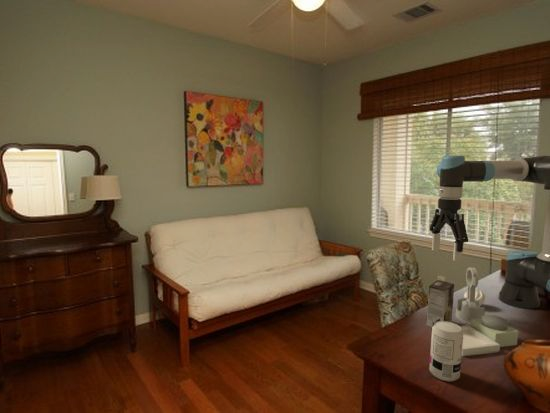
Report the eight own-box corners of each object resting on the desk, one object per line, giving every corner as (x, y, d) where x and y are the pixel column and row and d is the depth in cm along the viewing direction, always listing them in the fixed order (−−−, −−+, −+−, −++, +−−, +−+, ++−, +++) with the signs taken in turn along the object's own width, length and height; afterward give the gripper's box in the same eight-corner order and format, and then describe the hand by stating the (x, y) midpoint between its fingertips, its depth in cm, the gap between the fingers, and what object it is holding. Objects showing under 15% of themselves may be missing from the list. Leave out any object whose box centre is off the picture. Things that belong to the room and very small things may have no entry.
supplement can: (423, 366, 107) (426, 320, 105) (449, 365, 108) (453, 319, 106) (438, 383, 99) (442, 334, 97) (465, 382, 100) (470, 332, 98)
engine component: (460, 322, 136) (488, 324, 134) (464, 271, 133) (493, 273, 131) (451, 310, 147) (477, 312, 145) (455, 263, 144) (482, 265, 142)
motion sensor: (459, 303, 154) (461, 286, 153) (473, 301, 156) (474, 284, 155) (474, 311, 146) (476, 293, 145) (488, 308, 148) (490, 291, 147)
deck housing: (490, 328, 131) (491, 311, 130) (523, 348, 117) (525, 329, 116) (434, 335, 126) (435, 316, 125) (462, 356, 112) (464, 336, 112)
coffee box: (435, 317, 140) (437, 279, 137) (452, 323, 135) (455, 283, 133) (425, 325, 133) (428, 285, 131) (443, 331, 129) (446, 289, 127)
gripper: (422, 194, 138) (419, 246, 141) (462, 202, 114) (457, 265, 116) (440, 194, 139) (436, 246, 142) (483, 202, 114) (478, 264, 117)
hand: (445, 255), depth 129 cm, fingers open, 13 cm apart
